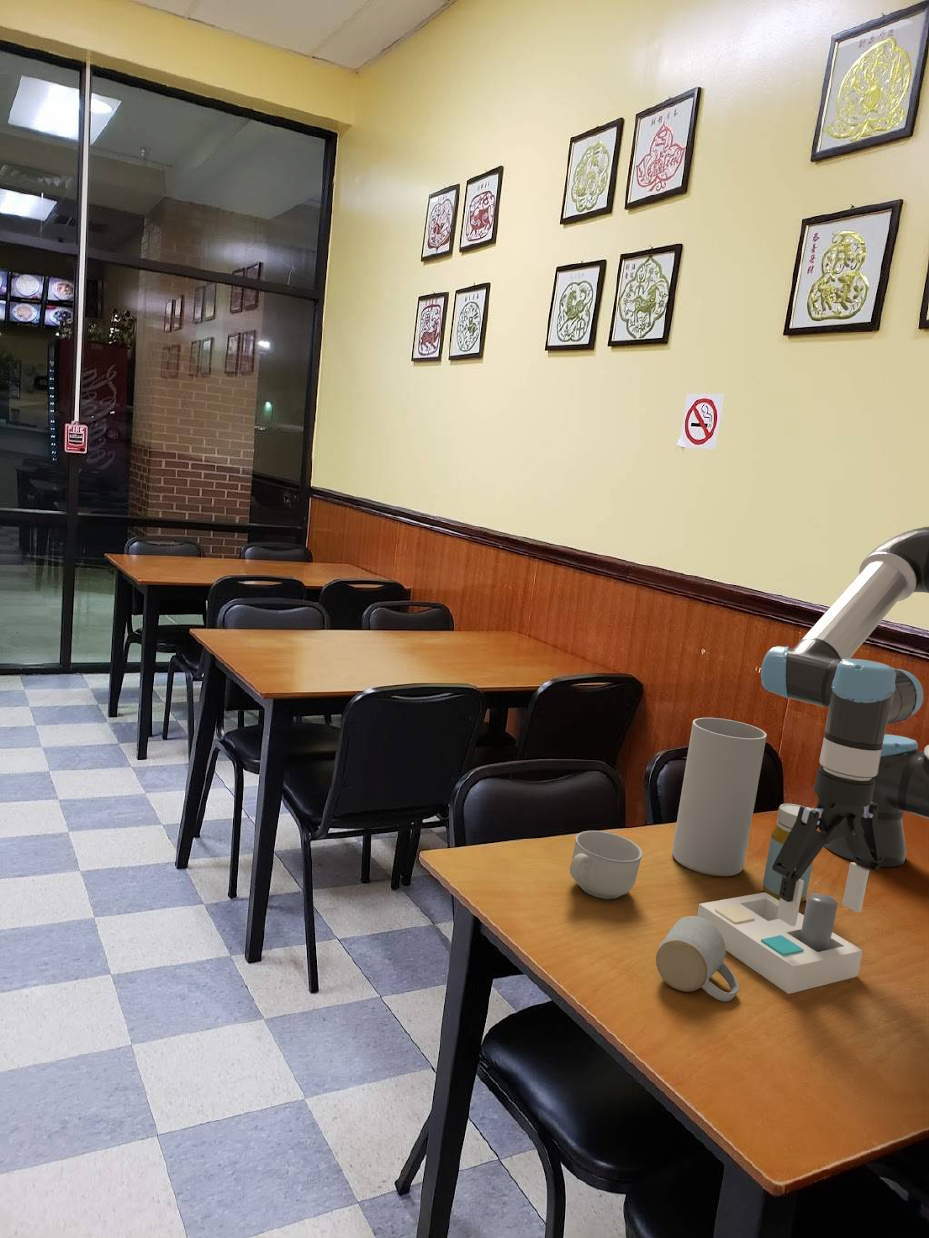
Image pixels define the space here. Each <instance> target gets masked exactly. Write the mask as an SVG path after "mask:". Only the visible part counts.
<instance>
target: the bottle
mask: <svg viewBox="0 0 929 1238" xmlns="http://www.w3.org/2000/svg"><path fill="white" fill-rule="evenodd" d="M801 806H802V805H799V804H795V803H782V804H780V805H779V807H778V812H777V819H776V825H775V826H774V828H773V830H772V831H771V834H770V840H769V844H768V845H769V846H768V852H767V856H766V863H765V869H764V874H763V878H762V879H763V880H762V886H761V887H762V890H763V892H764V893H765V892H766V893H767V894H769V895H771V896H772V897H774V898H776V899H777V900H779V901H780V896H779V893H780V888H781V882H782V875H780V874H778V873H777V872H775V871H773V870H772V866H773V864H774V862H775V860H776V858H777V856H778V854H779V852H780V851H781V849H782V847H783V845H784V843H785V841H786V839H787V837H788V835H789V833H790V831H791V830H792V828H793V826H794V824H795V822H796V819H797V816H798V812H799V808H800V807H801ZM813 862H814V860H813V861H812V863H811V864H810V865H809V867H808V868H807V870H806V871H805V872H804V874H803V875H802V876H801V878H800V879H801V880H803V881H804V884H803V889H802V895H801V900H800V903H802V902H804V901H805V899H807V896H808V889H809V883H810V879H811V873H812V868H813ZM795 870H796V868H795ZM795 870H794V871H795Z"/></svg>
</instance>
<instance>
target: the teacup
mask: <svg viewBox="0 0 929 1238" xmlns="http://www.w3.org/2000/svg"><path fill="white" fill-rule="evenodd" d="M574 840H575V844H574V849H573V854H572V858H571V862H570V866H569V873H570V875H571V878H573V880H574V881H575V882H576V883H577V884H578V886H579V887H580V888H581V889H582V890H583V891H584V892H585V893H587V894H588V895H591V896H592V897H596V898H601V899H605V900H609V899H617V898H619V897H621V896H624V895H626V894H627V893H629V892H630V891H631V890H632V889H633V887H634V886H635V883H636V880H637V876H638V872H639V868H640V863H641V860H642V858H643V856H644V855H643V851H642V849H641V847H640V846H639V845H637V844H636V843H635V842H633V841H632V840H631V839H629V838H626V837H624V836H622V835H619V834H616V833H611V832H607V831H603V830H602V831H601V830H586V831H585V830H584V831H581V832H579V833H577V834H576V835H575V839H574Z"/></svg>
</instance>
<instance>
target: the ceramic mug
mask: <svg viewBox="0 0 929 1238" xmlns="http://www.w3.org/2000/svg"><path fill="white" fill-rule="evenodd" d="M726 952H727V951H726V947H725V943H724V939H723V937H722V935H721V934H720V932H719V931H718V929H717V928H716V927H715V926H714V925H713V924H712V923H710V922H709V921H707V920H705V919H703V918H701V917H697V915H689V916H687V915H686V916H684V917H681V918H679V919H678V920H677V921H676V922H675V924H674V925H673V926H672V928H671V929H670V930H669V932H668V933H667V934H666V936H665V937H664V938H663V940H662V942H661V943H660V945H659V946H658V949H657V952H656V956H655V966H656V969H657V971H658V973H659V976H660V978H662V980H663V981H664V982H665V983H666V984H667V985H669V986H670V987H671V988H672V989H674V990H677V991H681V992H685V993H687V992H694V991H697V990H698V989H702V990H704V991H705V992H706V993H707V994H708V995H709V996H711V997H712V998H714V999H715V1000H718V1001H721V1002H729V1001H731V1000H733V999H734V997H735V996H736V995H737V994H738V992H739V990H740V985H739V981H738V979H737V977H736V975H735V974H734V973H733V971H732V970H731V969H730V967H729V966H728V965H727V964H725V962H724V960H725V958H726ZM717 972H718V973H719V974H720V976H722V978H723V979H724V980H725V981H726V983H727V985H728V986H729V988H730V991H729V992H727V991H724V990H722V989H720V988H719V987H718V986H716V985H715V984H714V983H712V982H711V980H710V979H711V978H712V976H713V975H715V973H717Z"/></svg>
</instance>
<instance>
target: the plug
mask: <svg viewBox="0 0 929 1238" xmlns="http://www.w3.org/2000/svg"><path fill="white" fill-rule="evenodd" d="M805 903H806V904H805V909H804V914H803V915H804V918H803V924H802V929H801V934H800V940H799V941H800V942H802V943H804V944H805V945H807V946H808V947H810V948H812V949H813V950H815V951H816V952H821V951H825V950H829V946H830V941H831V936H832V932H833V930H834V924H835V920H836V915H837V909H838V905H839V903H838V901H837V900H836V899H834V898H832V897H831V896H829V895H826V894H822V893H815V892H812V893H808V894H807V896H806V902H805Z"/></svg>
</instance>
